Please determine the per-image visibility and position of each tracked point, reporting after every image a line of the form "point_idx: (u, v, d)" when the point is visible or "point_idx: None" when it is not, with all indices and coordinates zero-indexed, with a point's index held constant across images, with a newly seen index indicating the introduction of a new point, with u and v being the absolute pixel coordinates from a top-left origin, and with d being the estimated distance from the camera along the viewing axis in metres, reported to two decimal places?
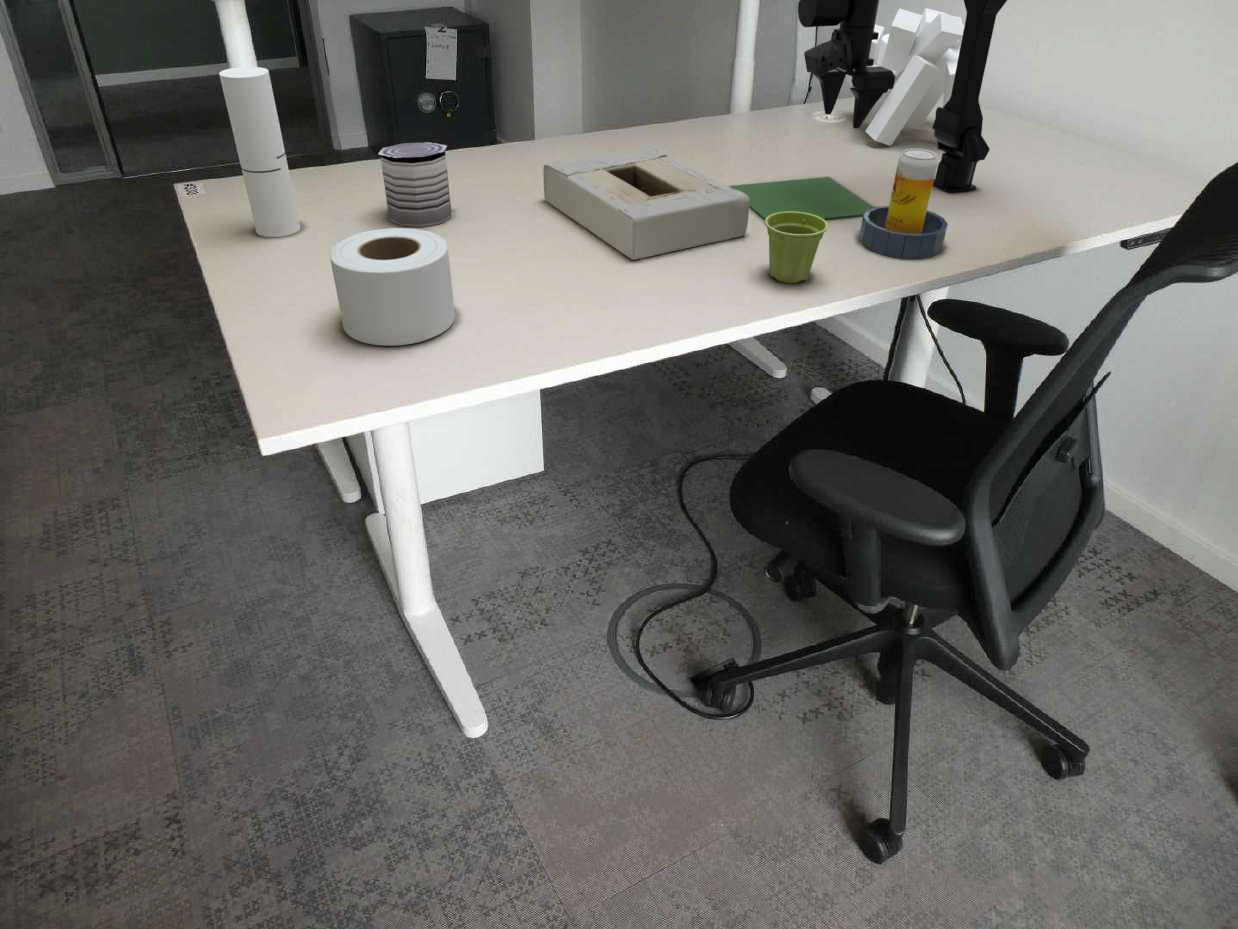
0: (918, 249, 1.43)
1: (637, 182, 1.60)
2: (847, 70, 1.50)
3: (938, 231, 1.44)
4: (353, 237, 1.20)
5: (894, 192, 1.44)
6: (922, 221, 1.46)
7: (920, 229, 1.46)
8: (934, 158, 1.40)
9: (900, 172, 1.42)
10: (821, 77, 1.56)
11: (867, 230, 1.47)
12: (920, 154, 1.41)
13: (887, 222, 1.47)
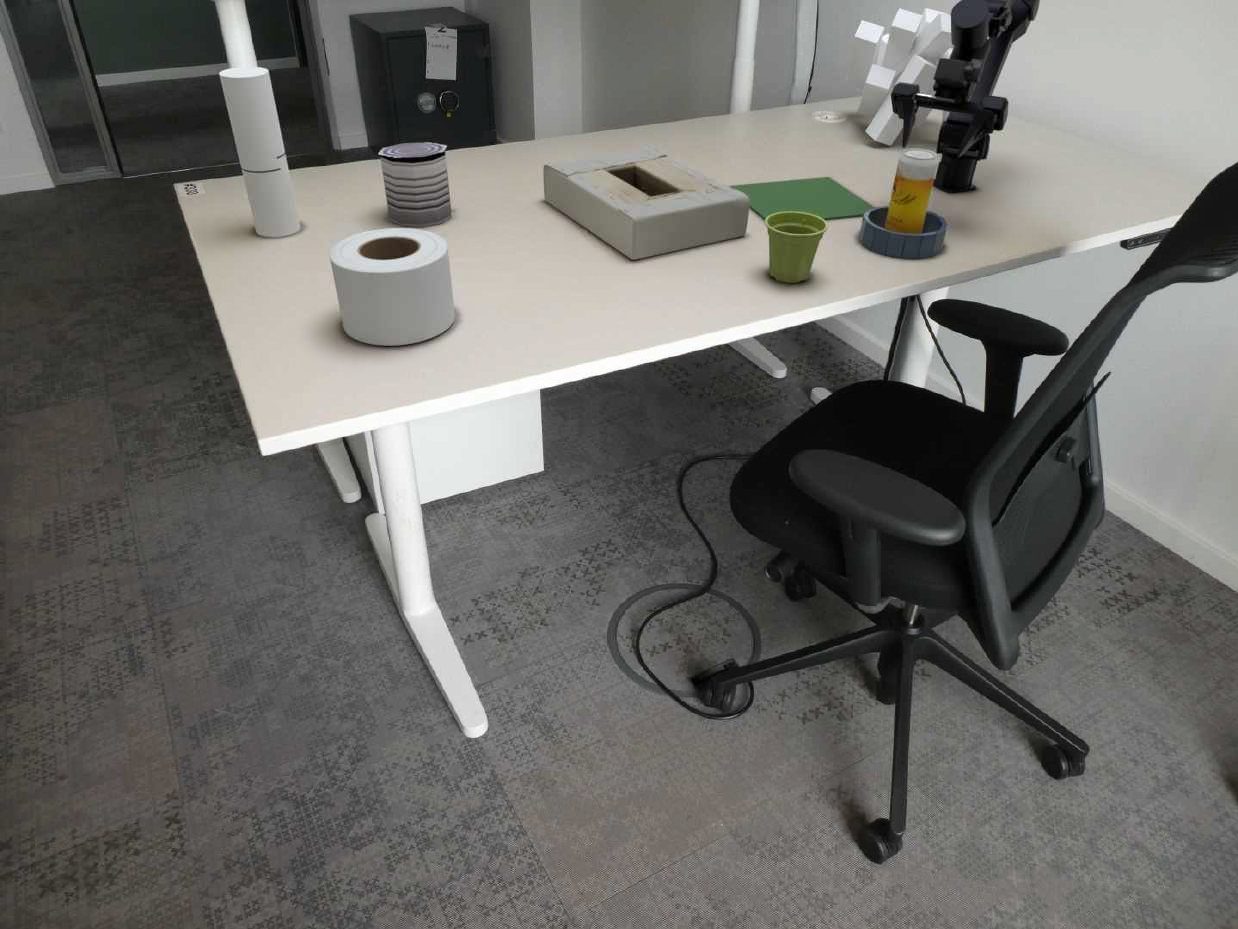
0: (918, 249, 1.43)
1: (637, 182, 1.60)
2: (954, 101, 1.46)
3: (938, 231, 1.44)
4: (353, 237, 1.20)
5: (894, 192, 1.44)
6: (922, 221, 1.46)
7: (920, 229, 1.46)
8: (934, 158, 1.40)
9: (900, 172, 1.42)
10: (913, 105, 1.48)
11: (867, 230, 1.47)
12: (920, 154, 1.41)
13: (887, 222, 1.47)
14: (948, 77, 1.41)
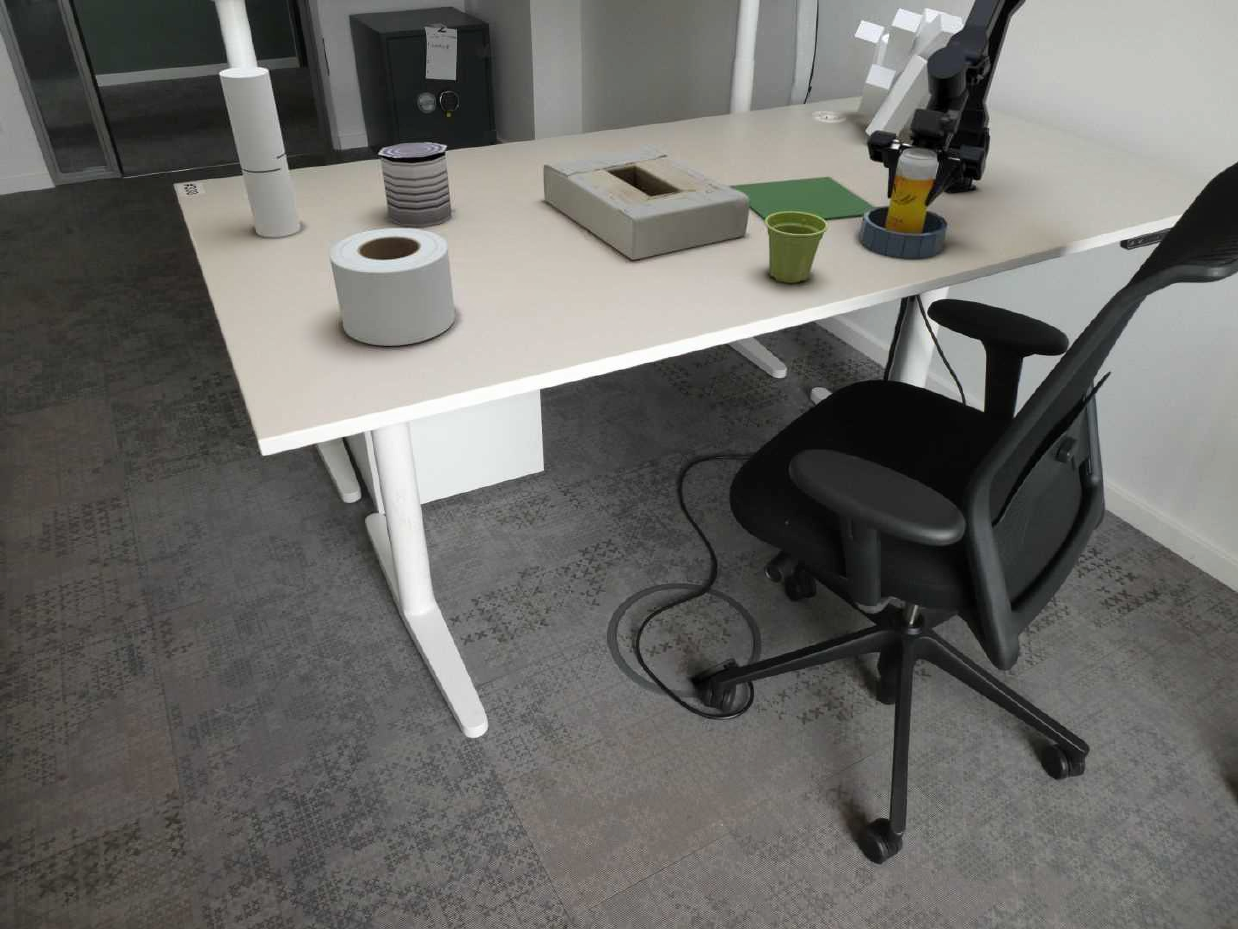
0: (918, 249, 1.43)
1: (637, 182, 1.60)
2: None
3: (938, 231, 1.44)
4: (353, 237, 1.20)
5: (894, 192, 1.44)
6: (922, 221, 1.46)
7: (920, 229, 1.46)
8: (934, 158, 1.40)
9: (900, 172, 1.42)
10: (898, 155, 1.44)
11: (867, 230, 1.47)
12: (920, 154, 1.41)
13: (887, 222, 1.47)
14: (924, 128, 1.38)
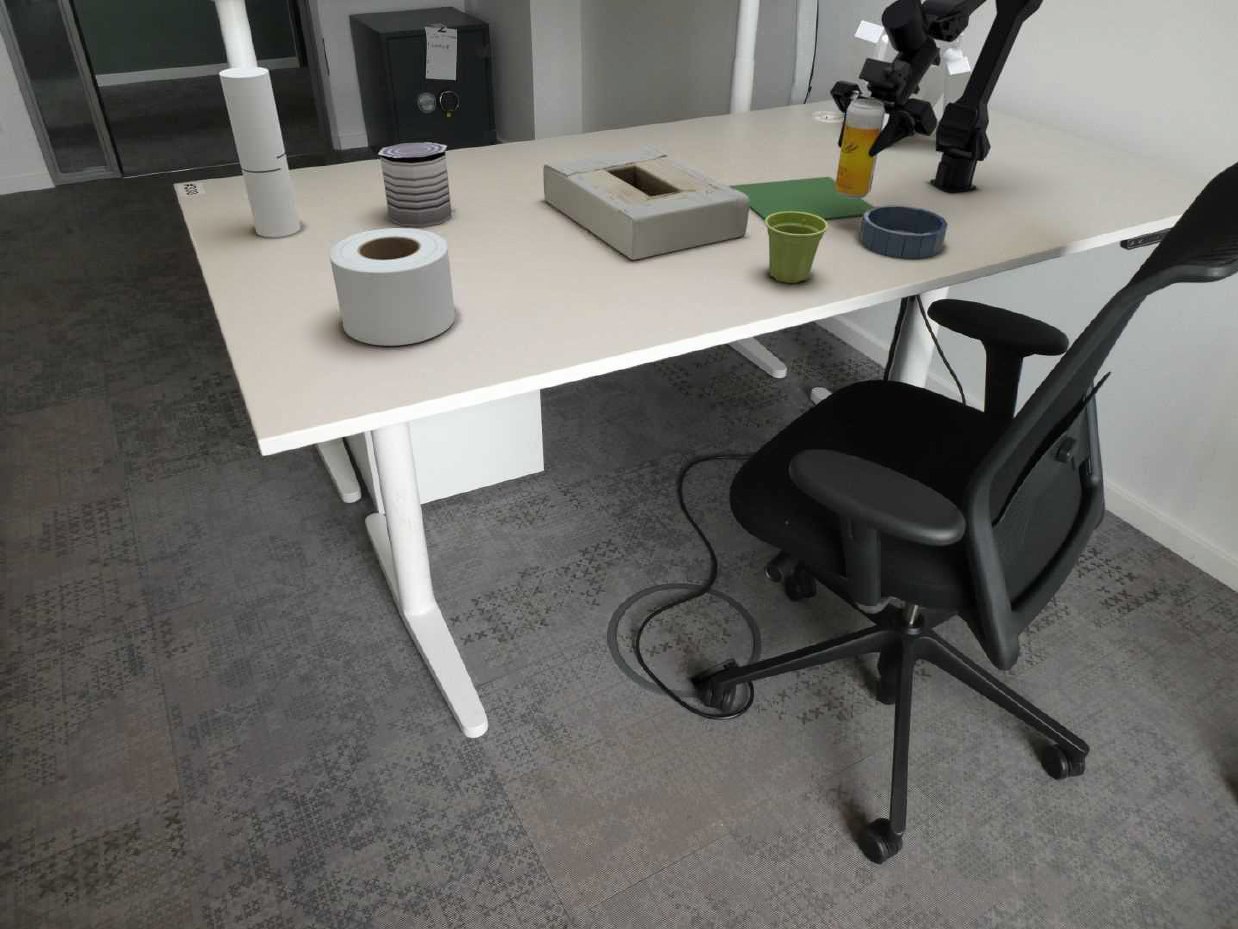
0: (918, 249, 1.43)
1: (637, 182, 1.60)
2: (886, 103, 1.45)
3: (938, 231, 1.44)
4: (353, 237, 1.20)
5: (842, 141, 1.47)
6: (868, 172, 1.48)
7: (866, 180, 1.48)
8: (878, 108, 1.42)
9: (846, 120, 1.45)
10: None
11: (867, 230, 1.47)
12: (867, 104, 1.43)
13: (837, 171, 1.51)
14: (869, 77, 1.41)
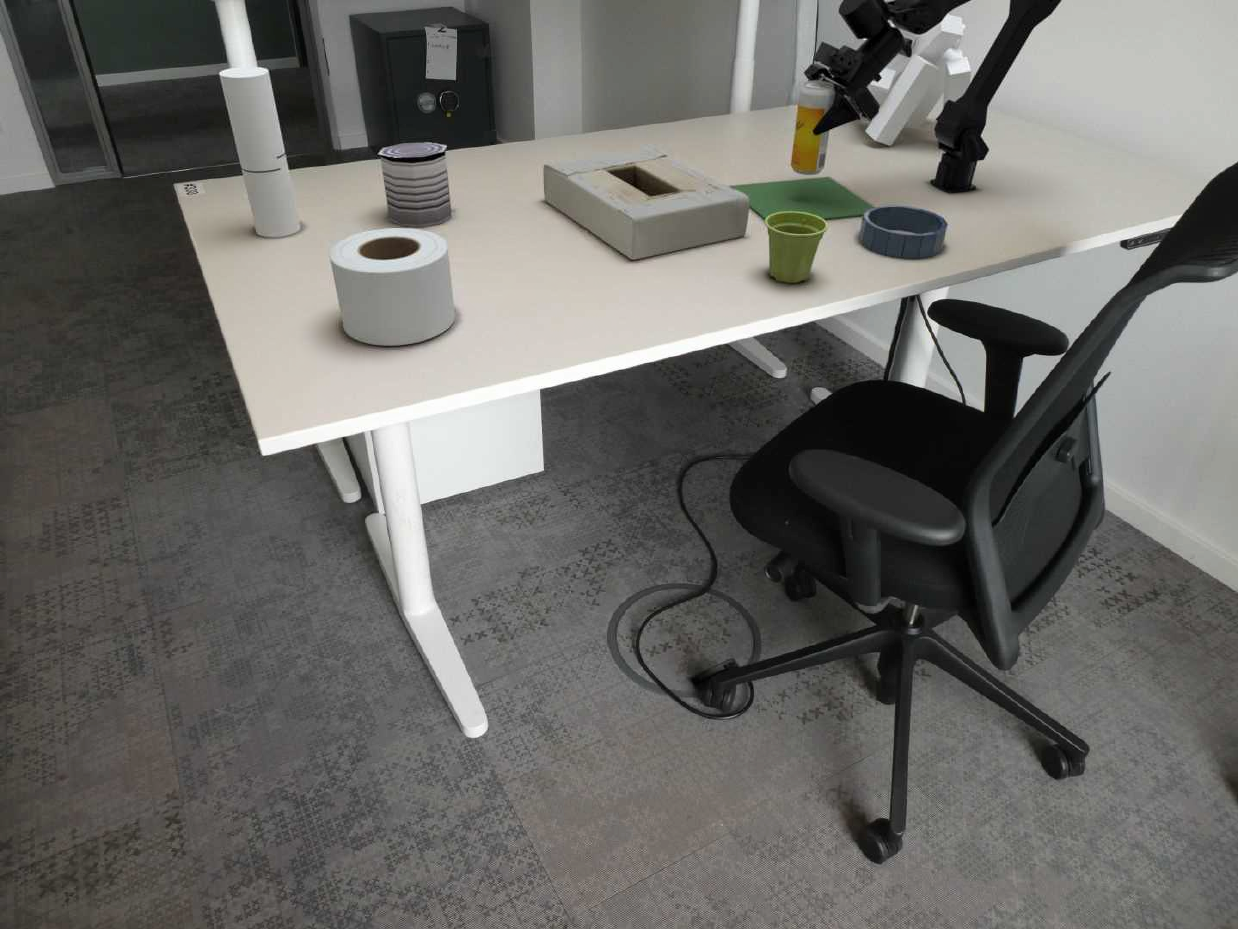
0: (918, 249, 1.43)
1: (637, 182, 1.60)
2: None
3: (938, 231, 1.44)
4: (353, 237, 1.20)
5: None
6: (814, 150, 1.57)
7: (813, 158, 1.58)
8: (822, 89, 1.51)
9: None
10: None
11: (867, 230, 1.47)
12: (817, 85, 1.53)
13: None
14: (818, 59, 1.50)
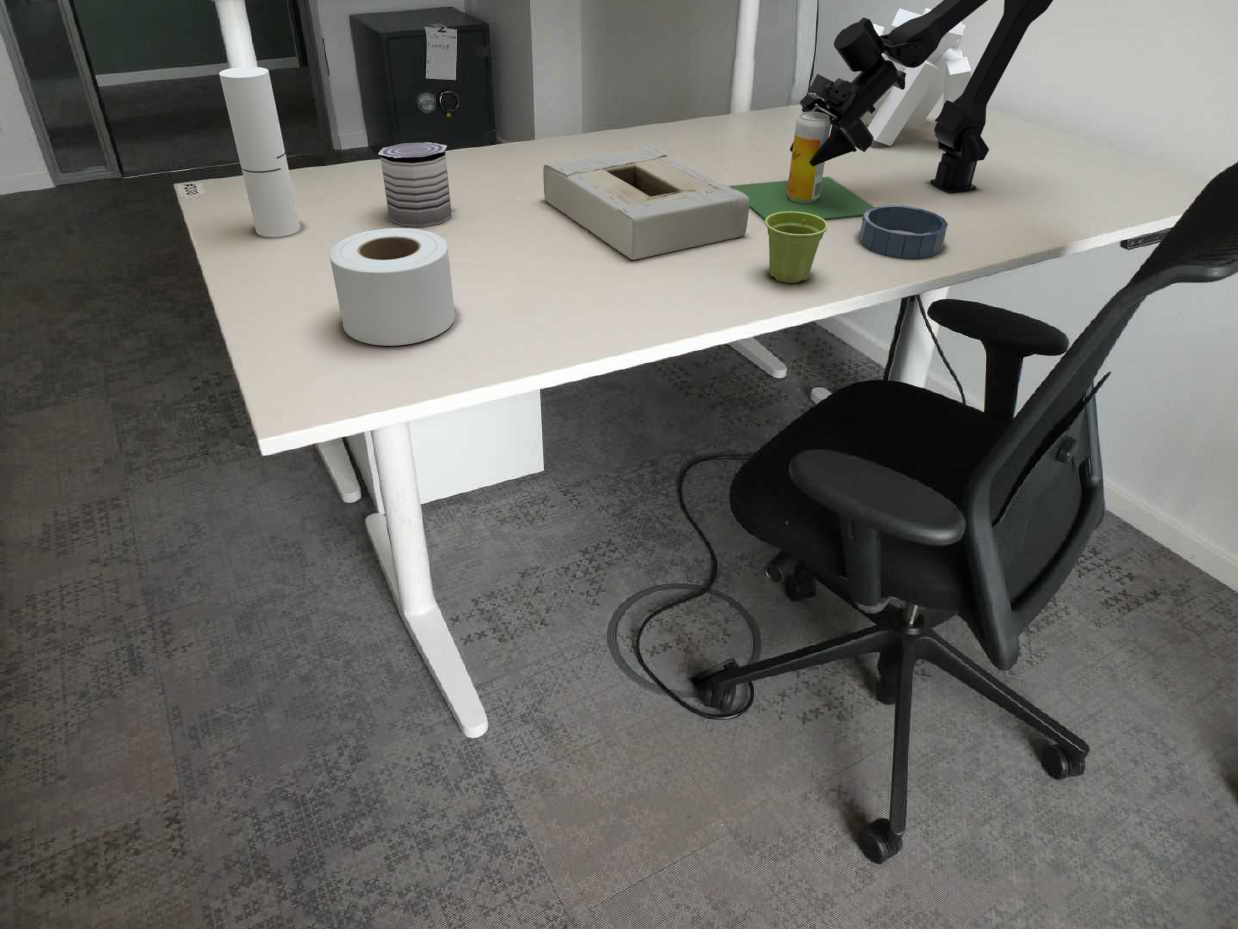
0: (918, 249, 1.43)
1: (637, 182, 1.60)
2: None
3: (938, 231, 1.44)
4: (353, 237, 1.20)
5: None
6: (810, 180, 1.60)
7: (809, 187, 1.61)
8: (818, 121, 1.54)
9: (795, 129, 1.59)
10: None
11: (867, 230, 1.47)
12: (814, 116, 1.56)
13: None
14: (813, 91, 1.53)
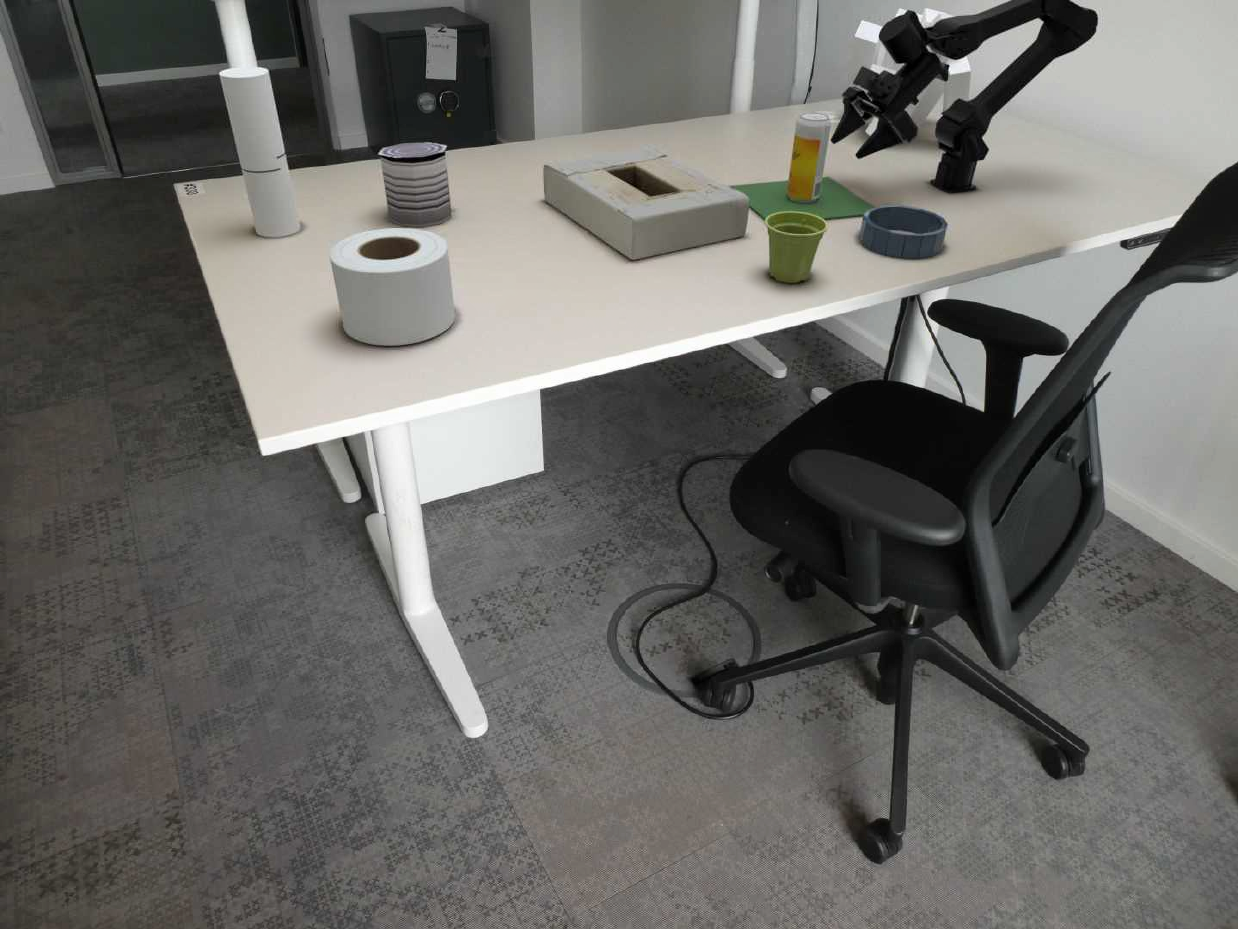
0: (918, 249, 1.43)
1: (637, 182, 1.60)
2: (879, 109, 1.58)
3: (938, 231, 1.44)
4: (353, 237, 1.20)
5: None
6: (810, 179, 1.60)
7: (809, 187, 1.61)
8: (818, 121, 1.54)
9: (795, 129, 1.59)
10: (849, 107, 1.63)
11: (867, 230, 1.47)
12: (814, 116, 1.56)
13: None
14: (858, 83, 1.55)
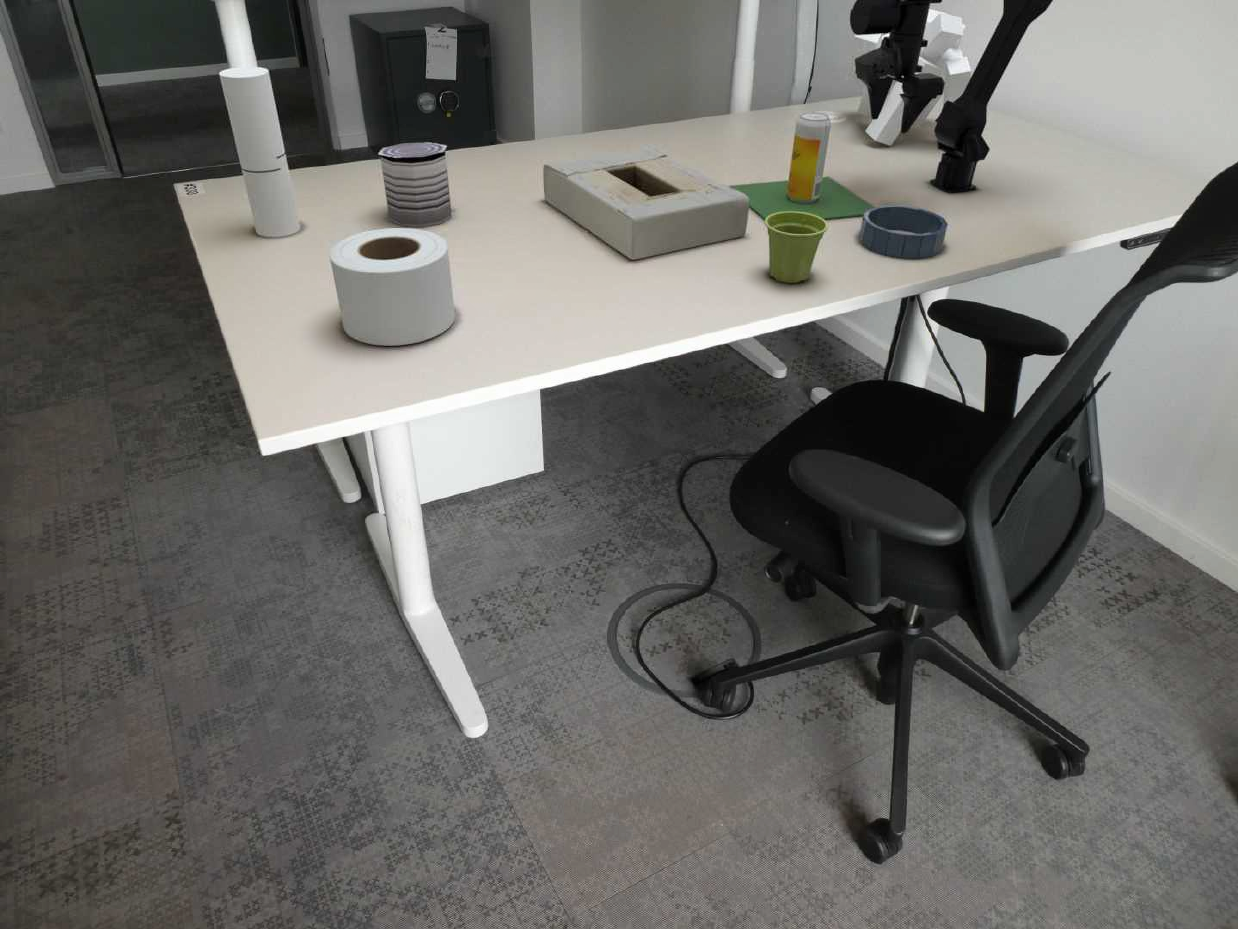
0: (918, 249, 1.43)
1: (637, 182, 1.60)
2: (896, 76, 1.54)
3: (938, 231, 1.44)
4: (353, 237, 1.20)
5: None
6: (810, 179, 1.60)
7: (809, 187, 1.61)
8: (818, 121, 1.54)
9: (795, 129, 1.59)
10: (869, 83, 1.60)
11: (867, 230, 1.47)
12: (814, 116, 1.56)
13: None
14: (862, 78, 1.53)
